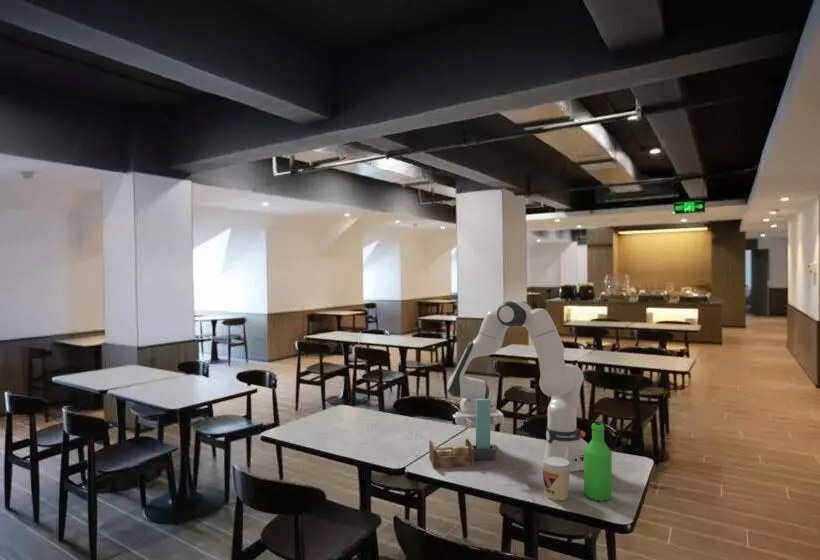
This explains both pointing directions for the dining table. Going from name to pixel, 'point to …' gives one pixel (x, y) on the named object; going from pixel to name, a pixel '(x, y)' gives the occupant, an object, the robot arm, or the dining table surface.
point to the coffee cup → (556, 477)
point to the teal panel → (482, 423)
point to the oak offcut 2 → (460, 450)
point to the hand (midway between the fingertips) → (483, 423)
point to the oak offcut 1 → (444, 452)
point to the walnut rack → (451, 457)
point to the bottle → (597, 466)
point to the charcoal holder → (484, 454)
